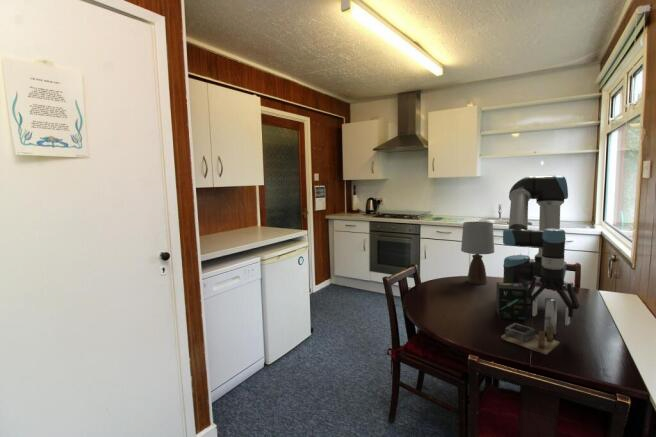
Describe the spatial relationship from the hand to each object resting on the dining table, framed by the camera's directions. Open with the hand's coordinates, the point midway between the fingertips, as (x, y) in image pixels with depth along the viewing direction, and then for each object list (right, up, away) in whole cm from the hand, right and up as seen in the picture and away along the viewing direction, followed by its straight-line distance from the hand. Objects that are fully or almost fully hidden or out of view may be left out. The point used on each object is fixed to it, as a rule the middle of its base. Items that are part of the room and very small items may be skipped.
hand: (550, 319), depth 133 cm
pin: (0, -6, +1) cm, 6 cm away
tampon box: (-6, -4, +18) cm, 20 cm away
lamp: (+2, +2, +69) cm, 69 cm away
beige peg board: (-12, -7, -6) cm, 15 cm away
